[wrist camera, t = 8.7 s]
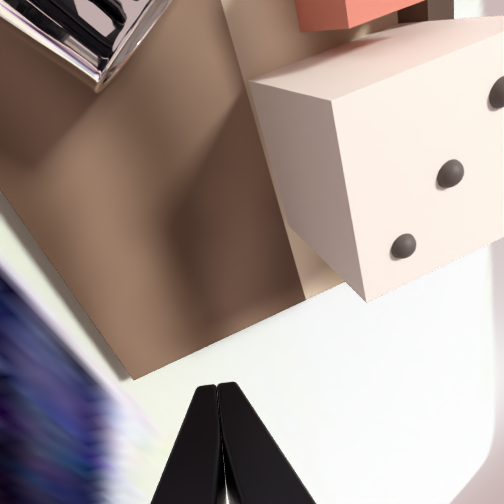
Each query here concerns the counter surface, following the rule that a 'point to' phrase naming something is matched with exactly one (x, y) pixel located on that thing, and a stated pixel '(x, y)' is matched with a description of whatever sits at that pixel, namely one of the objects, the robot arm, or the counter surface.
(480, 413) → the counter surface
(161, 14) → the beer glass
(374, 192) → the ivory die
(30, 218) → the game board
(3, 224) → the counter surface
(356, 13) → the terracotta die
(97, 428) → the counter surface
